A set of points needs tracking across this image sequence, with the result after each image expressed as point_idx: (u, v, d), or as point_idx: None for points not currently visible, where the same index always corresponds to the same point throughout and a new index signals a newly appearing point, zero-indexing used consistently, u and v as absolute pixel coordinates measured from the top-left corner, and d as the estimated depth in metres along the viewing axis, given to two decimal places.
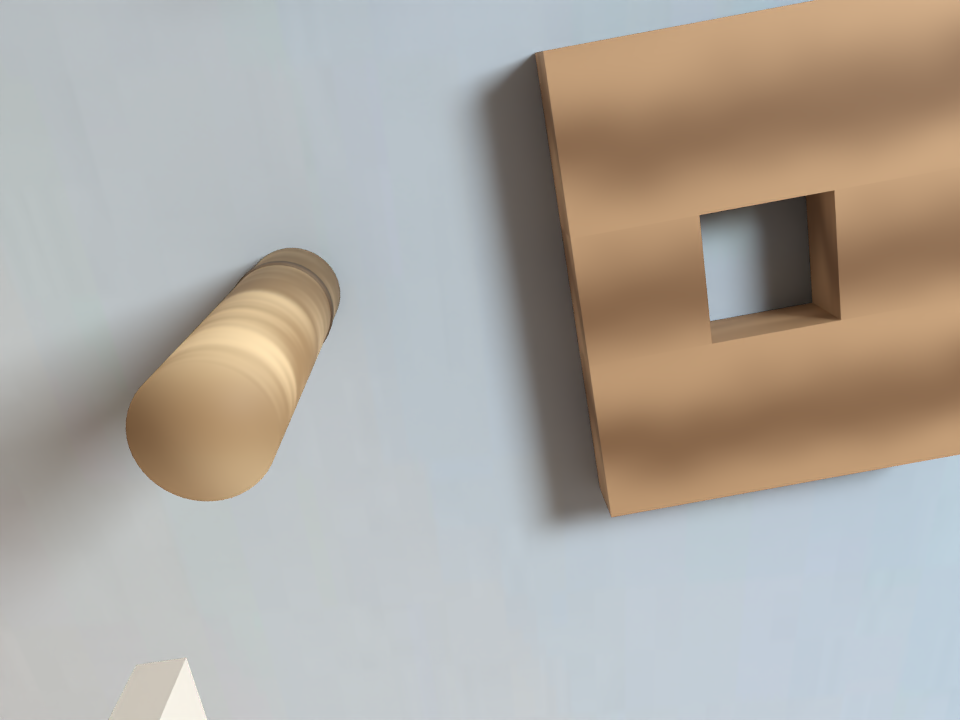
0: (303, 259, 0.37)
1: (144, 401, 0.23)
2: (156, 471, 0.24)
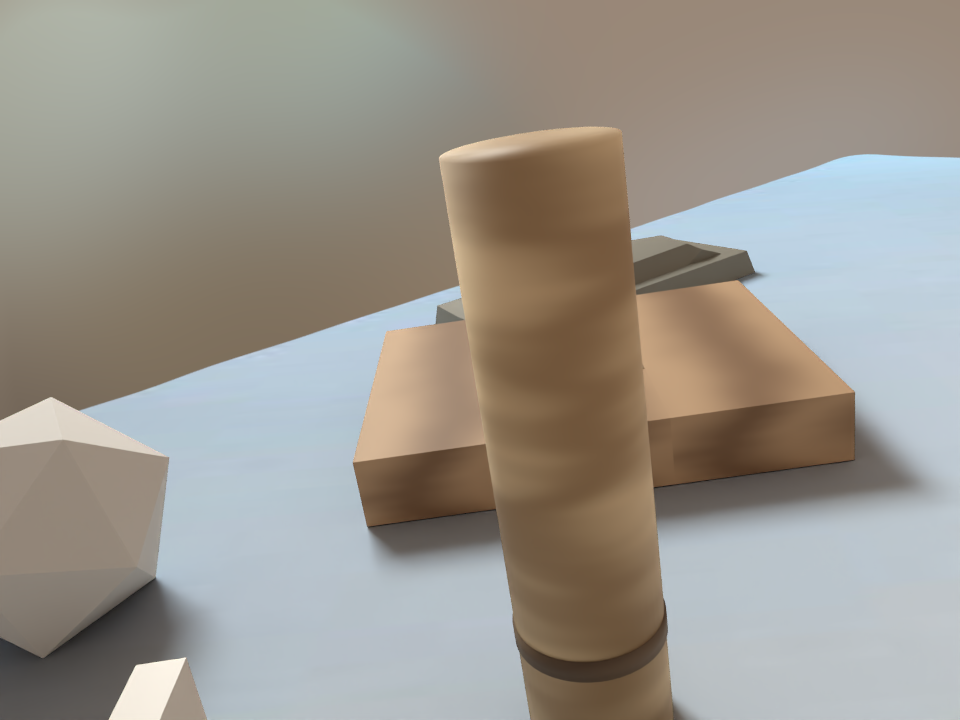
0: None
1: (476, 160, 0.18)
2: (574, 147, 0.18)
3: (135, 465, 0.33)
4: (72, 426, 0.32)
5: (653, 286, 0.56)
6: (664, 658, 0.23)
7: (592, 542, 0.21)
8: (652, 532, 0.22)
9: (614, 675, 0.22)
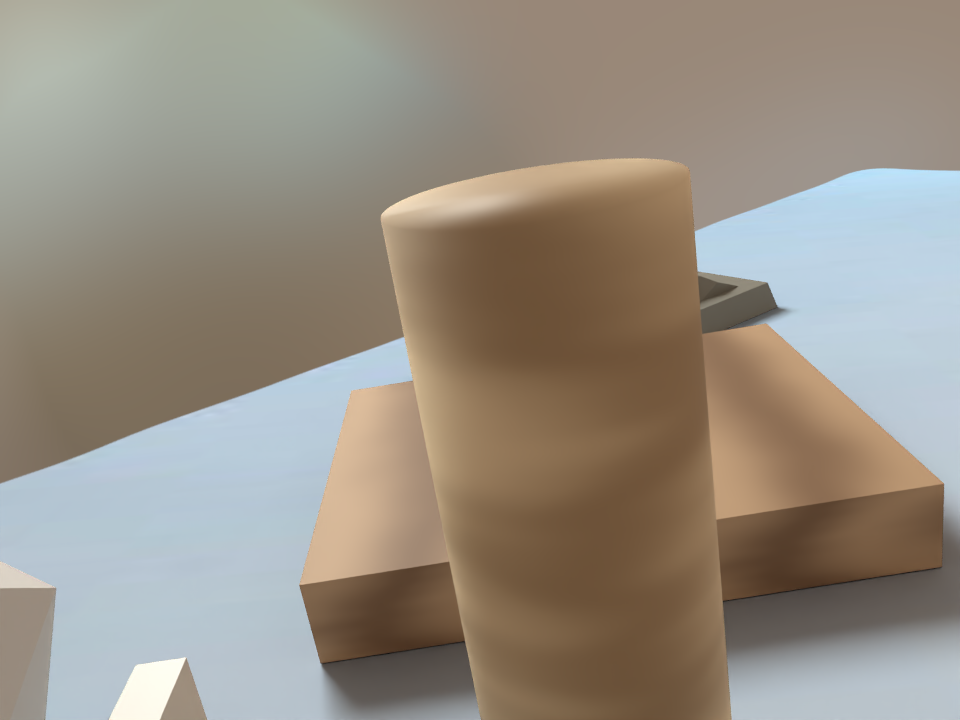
0: None
1: (442, 224, 0.10)
2: (615, 199, 0.10)
3: (2, 608, 0.24)
4: None
5: None
6: None
7: None
8: None
9: None
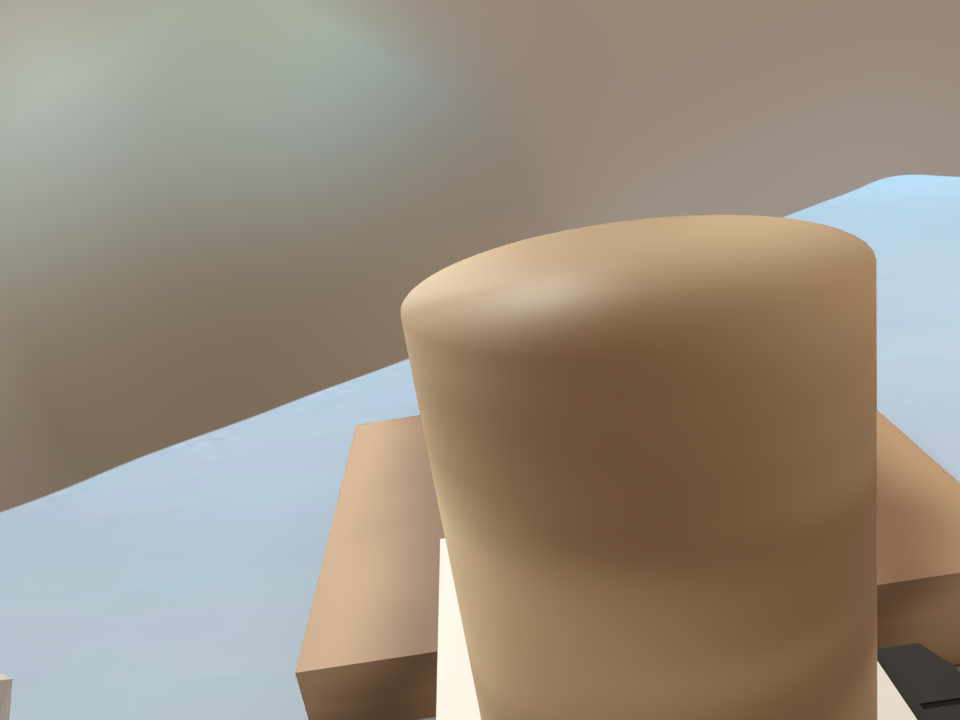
0: None
1: (499, 338, 0.07)
2: (779, 305, 0.06)
3: None
4: None
5: None
6: None
7: None
8: None
9: None
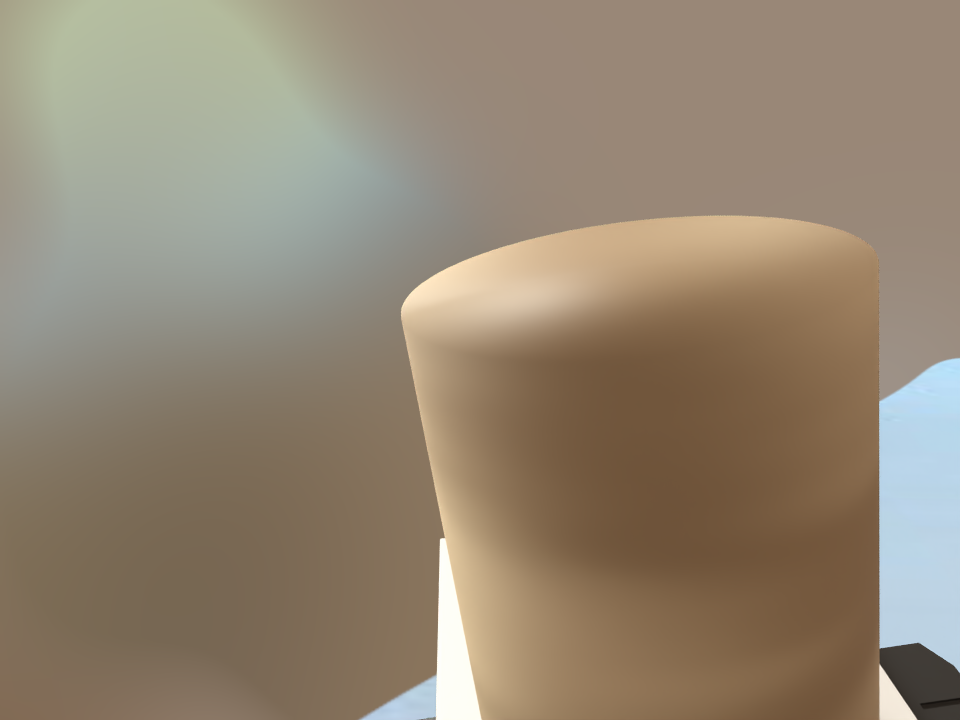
0: None
1: (500, 340, 0.07)
2: (782, 307, 0.06)
3: None
4: None
5: None
6: None
7: None
8: None
9: None
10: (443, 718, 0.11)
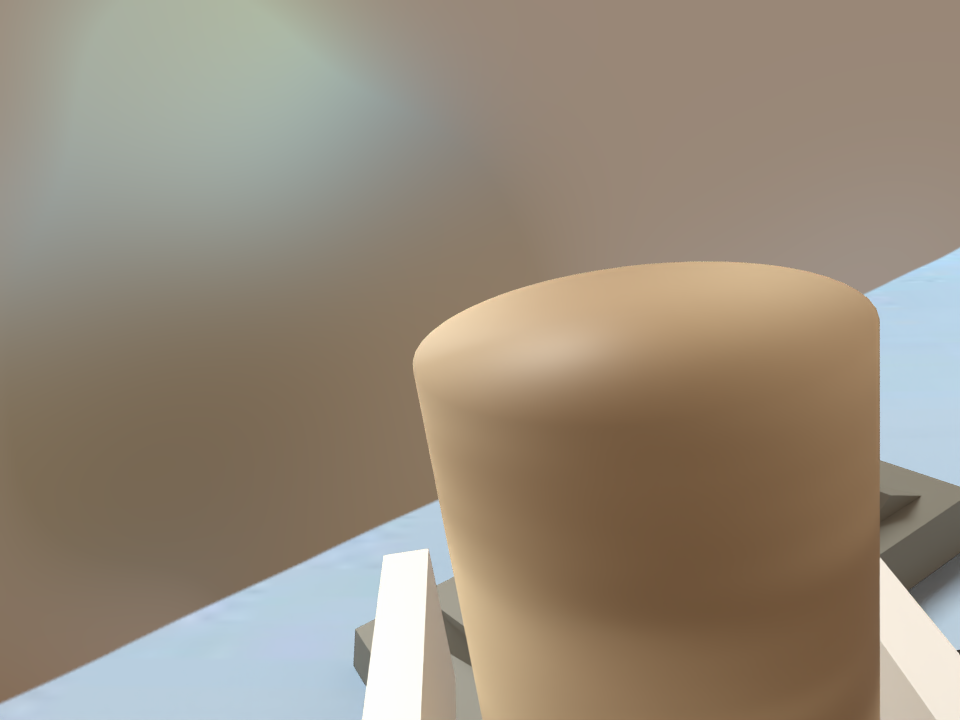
0: None
1: (511, 400, 0.07)
2: (784, 370, 0.06)
3: None
4: None
5: None
6: None
7: None
8: None
9: None
10: None
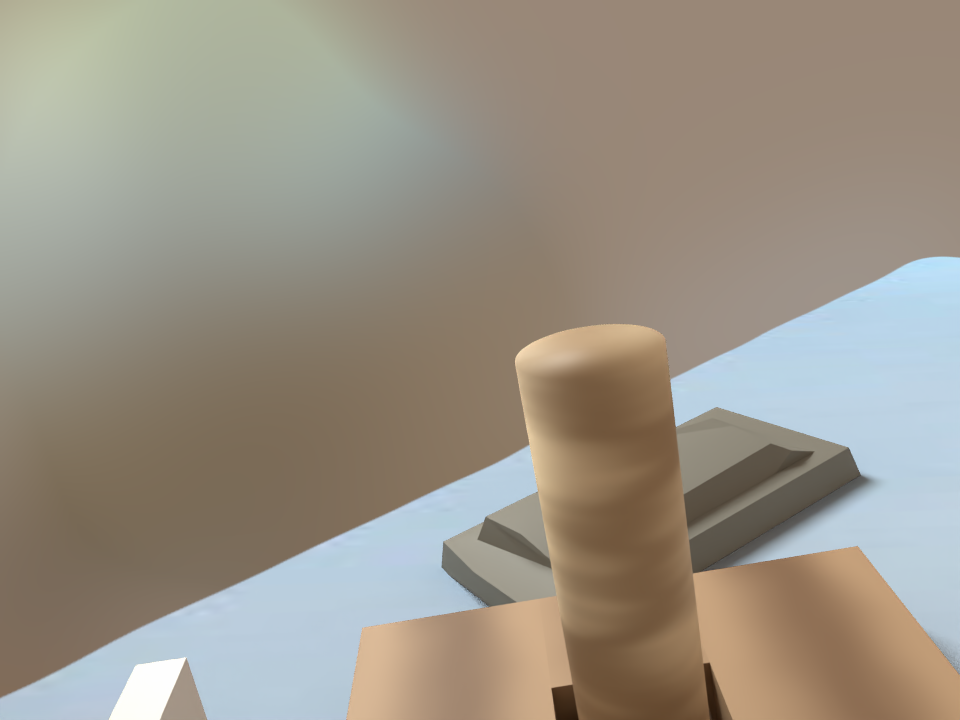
0: None
1: (549, 373, 0.22)
2: (630, 363, 0.22)
3: None
4: None
5: (735, 517, 0.42)
6: None
7: (650, 672, 0.25)
8: (699, 657, 0.26)
9: None
10: None
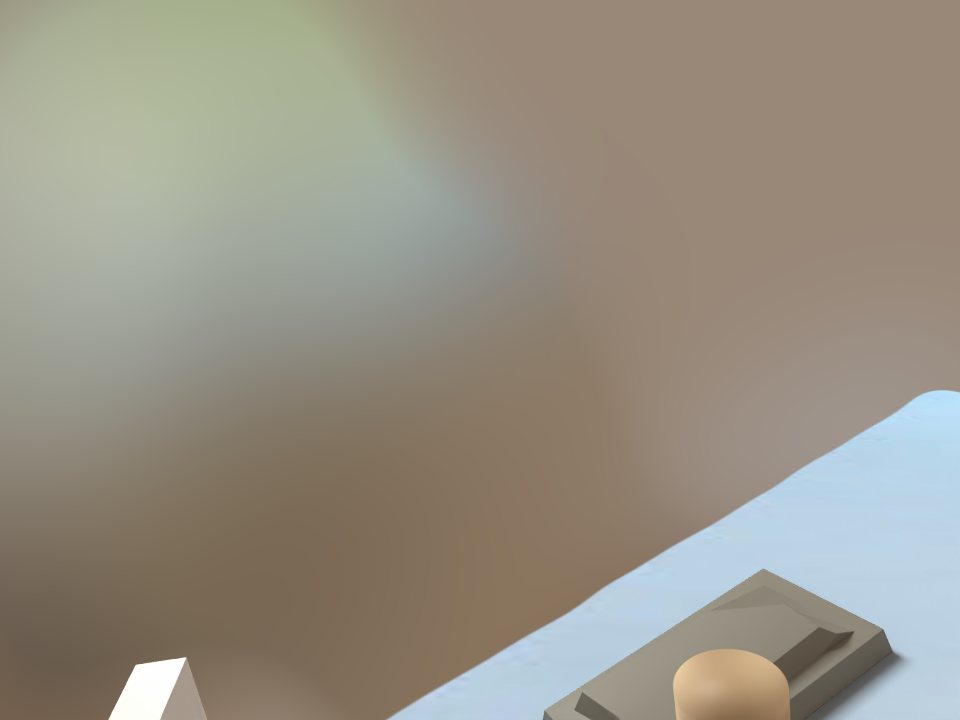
0: None
1: (706, 715, 0.31)
2: (766, 712, 0.30)
3: None
4: None
5: (792, 700, 0.50)
6: None
7: None
8: None
9: None
10: None
